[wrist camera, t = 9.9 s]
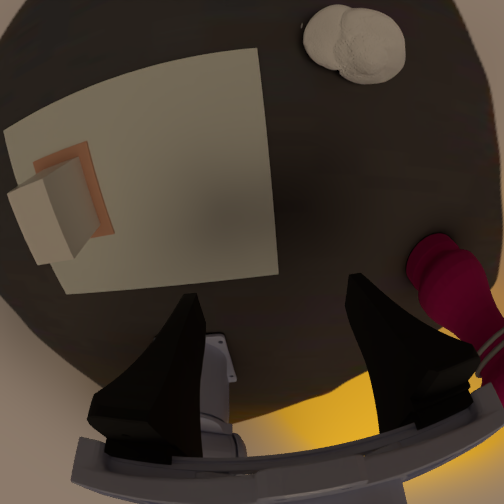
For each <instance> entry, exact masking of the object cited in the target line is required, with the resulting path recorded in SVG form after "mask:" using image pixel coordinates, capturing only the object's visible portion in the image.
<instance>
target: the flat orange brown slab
mask: <svg viewBox="0 0 504 504" xmlns="http://www.w3.org/2000/svg"><path fill="white" fill-rule="evenodd" d="M78 156H79V159H80V163H81V166H82V170H83V173H84V176H85V180H86V183H87V186H88V189H89V192H90V196H91V199H92V202H93V204H94V207H95V210H96V213H97V216H98V219H99V221H100V224H101V225H100V226H99V227H98V229H97V230H96V231H95V232H94V234H93V235H92V236H91V237H90V238H95V237H100V236H106V235H112V234H115V232H114V229H113V226H112V223H111V220H110V217H109V214H108V211H107V208H106V205H105V202H104V199H103V196H102V193H101V189H100V186H99V183H98V179H97V176H96V172H95V169H94V165H93V162H92V158H91V154H90V150H89V146H88V142H87V141H85V142H82V143H79V144H76V145H73V146H71V147H68V148H65V149H63V150H60V151H58V152H55V153H53V154H50V155H48V156H46V157H43V158H41V159H39V160H36V161H34V162H33V165H34V169H35V172H36V174H37V173H38V172H40V171H42V170H43V169H46V168H48V167H51V166H53V165H56V164H59V163H61V162H64V161H67V160H69V159H72V158H75V157H78Z"/></svg>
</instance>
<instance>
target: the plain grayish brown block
mask: <svg viewBox="0 0 504 504" xmlns="http://www.w3.org/2000/svg"><path fill="white" fill-rule="evenodd" d="M7 195H8V198H9V201H10V204H11V206H12V209H13V211H14V214H15V217H16V219H17V221H18V224H19V226H20V229H21V231H22V233H23V236H24V238H25V240H26V242H27V244H28V246H29V249H30V251H31V253H32V255H33V257H34V259H35V261H36V263H37V265H41V264H48V263H54V262H60V261H66V260H73V259H75V257H76V256H77V255H78V253H79V252H80V251H81V249H82V248H83V247H84V245H85V244H86V243H87V241H88V240H89V239H90V237H91V236H92V235H93V234H94V232H95V231H96V230H97V229H98V227H99V226H100V225H101V224H100V221H99V219H98V216H97V213H96V210H95V207H94V204H93V202H92V199H91V196H90V192H89V189H88V186H87V183H86V180H85V176H84V173H83V170H82V166H81V163H80V159H79V156H78V157H75V158H72V159H69V160H67V161H64V162H61V163H59V164H56V165H53V166H51V167H48V168H46V169H43V170H42V171H40V172H38V173H37V174H35V175H34V176H32V177H31V178H29V179H28V180H26V181H25V182H23V183H22V184H20V185H19V186H17V187H16V188H14V189H13V190H11V191H10V192H9V193H7Z"/></svg>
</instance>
